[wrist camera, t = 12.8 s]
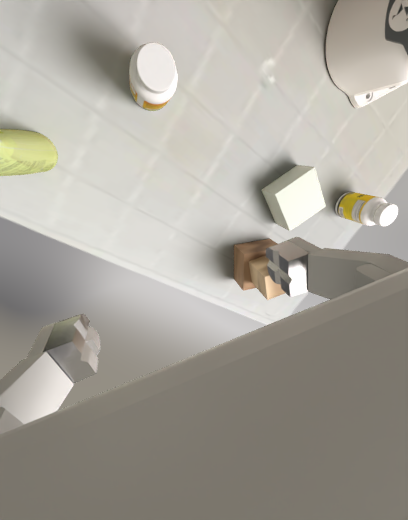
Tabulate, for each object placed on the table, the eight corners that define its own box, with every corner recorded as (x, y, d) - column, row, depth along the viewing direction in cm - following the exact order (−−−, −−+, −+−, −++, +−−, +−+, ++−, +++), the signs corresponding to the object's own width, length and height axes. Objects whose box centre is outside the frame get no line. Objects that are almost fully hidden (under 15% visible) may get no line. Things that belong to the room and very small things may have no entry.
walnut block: (269, 238, 48) (282, 247, 44) (266, 271, 52) (278, 282, 47) (233, 244, 46) (244, 254, 42) (233, 278, 50) (243, 290, 46)
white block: (296, 164, 43) (314, 167, 38) (307, 200, 47) (325, 206, 43) (260, 189, 43) (275, 194, 39) (275, 223, 47) (289, 231, 43)
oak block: (272, 252, 44) (291, 266, 39) (274, 274, 46) (292, 290, 41) (248, 261, 43) (264, 277, 38) (251, 282, 45) (267, 300, 40)
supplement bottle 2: (359, 195, 50) (407, 205, 41) (346, 219, 51) (389, 233, 43) (342, 188, 48) (388, 196, 39) (329, 212, 49) (370, 226, 41)
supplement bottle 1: (177, 87, 33) (193, 66, 24) (154, 120, 33) (163, 111, 25) (144, 52, 30) (149, 15, 22) (121, 89, 31) (118, 68, 23)
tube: (25, 117, 29) (-115, 78, 13) (67, 143, 32) (-5, 139, 15) (9, 157, 31) (-140, 170, 14) (50, 179, 33) (-34, 213, 16)
